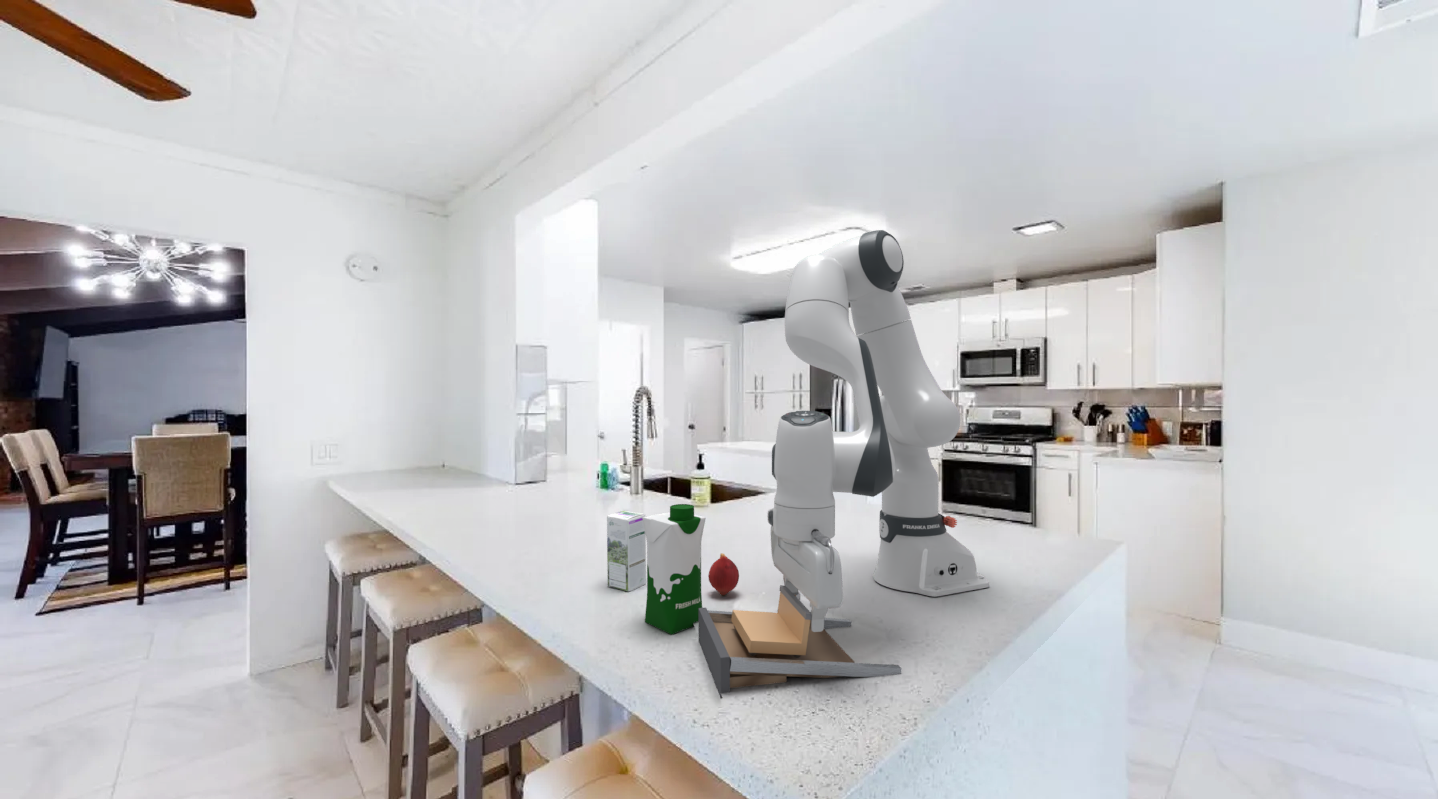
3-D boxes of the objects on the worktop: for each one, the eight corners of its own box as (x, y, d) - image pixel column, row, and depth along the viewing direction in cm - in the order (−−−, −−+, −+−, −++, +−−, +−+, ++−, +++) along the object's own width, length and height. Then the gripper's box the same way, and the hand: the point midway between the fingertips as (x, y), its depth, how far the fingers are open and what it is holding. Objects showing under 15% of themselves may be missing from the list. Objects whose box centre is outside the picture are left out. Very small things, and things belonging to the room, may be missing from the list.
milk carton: (670, 638, 90) (670, 512, 90) (636, 622, 97) (636, 504, 97) (711, 622, 97) (710, 504, 96) (676, 608, 103) (676, 497, 103)
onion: (739, 590, 112) (739, 549, 112) (737, 601, 107) (737, 558, 106) (710, 589, 113) (710, 548, 113) (706, 599, 107) (706, 557, 107)
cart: (785, 627, 90) (785, 584, 89) (812, 661, 78) (812, 613, 78) (730, 631, 88) (730, 588, 88) (750, 667, 76) (750, 618, 76)
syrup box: (647, 584, 116) (647, 512, 116) (627, 592, 111) (627, 518, 111) (625, 579, 119) (625, 509, 119) (605, 587, 114) (605, 514, 114)
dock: (848, 632, 95) (848, 596, 94) (901, 684, 78) (901, 640, 78) (698, 646, 90) (698, 608, 89) (720, 704, 73) (720, 657, 73)
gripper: (855, 539, 74) (854, 645, 74) (801, 507, 94) (800, 591, 94) (809, 542, 73) (808, 650, 73) (764, 509, 93) (763, 594, 93)
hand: (803, 616), depth 84 cm, fingers open, 8 cm apart
